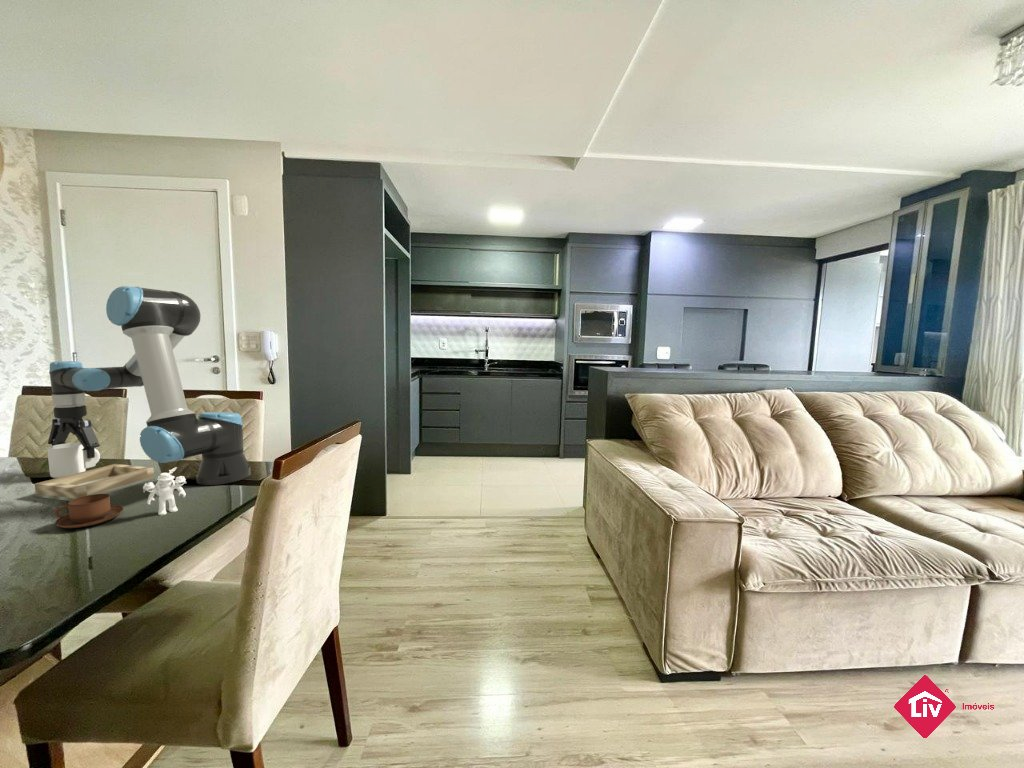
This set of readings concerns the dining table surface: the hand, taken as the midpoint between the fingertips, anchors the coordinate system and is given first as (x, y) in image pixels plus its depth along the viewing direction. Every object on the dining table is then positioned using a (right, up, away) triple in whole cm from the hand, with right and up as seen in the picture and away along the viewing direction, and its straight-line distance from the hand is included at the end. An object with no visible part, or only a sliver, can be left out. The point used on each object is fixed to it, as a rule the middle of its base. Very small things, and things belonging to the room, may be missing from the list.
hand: (75, 465), depth 136 cm
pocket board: (+21, -4, -12) cm, 25 cm away
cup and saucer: (+44, -7, -35) cm, 56 cm away
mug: (0, -3, 0) cm, 3 cm away
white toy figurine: (+58, -7, -29) cm, 65 cm away
